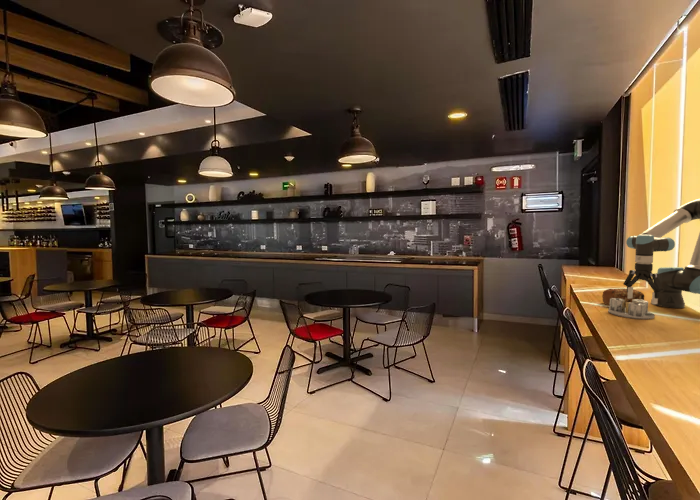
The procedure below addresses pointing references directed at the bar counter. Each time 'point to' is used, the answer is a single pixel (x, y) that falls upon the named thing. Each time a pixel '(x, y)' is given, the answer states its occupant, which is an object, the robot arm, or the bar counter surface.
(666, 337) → the bar counter surface
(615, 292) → the bread
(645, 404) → the bar counter surface
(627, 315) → the carrier
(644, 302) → the planet gear
